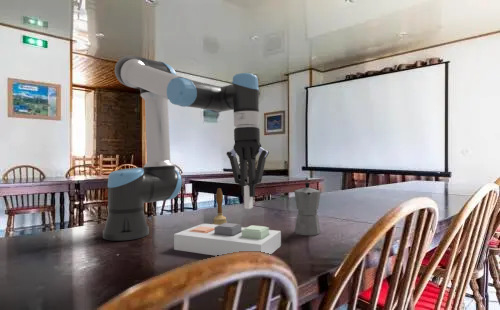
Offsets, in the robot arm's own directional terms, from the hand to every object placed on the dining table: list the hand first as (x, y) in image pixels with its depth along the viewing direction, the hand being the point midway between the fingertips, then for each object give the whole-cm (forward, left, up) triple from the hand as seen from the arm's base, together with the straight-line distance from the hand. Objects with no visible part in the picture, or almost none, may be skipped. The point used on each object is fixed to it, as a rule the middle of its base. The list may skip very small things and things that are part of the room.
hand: (248, 207), depth 93 cm
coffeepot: (+10, +29, -13) cm, 34 cm away
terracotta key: (-16, 0, -11) cm, 19 cm away
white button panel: (-7, 0, -13) cm, 14 cm away
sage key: (+2, 0, -9) cm, 9 cm away
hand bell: (-19, +16, -13) cm, 28 cm away
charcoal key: (-7, 0, -9) cm, 11 cm away
